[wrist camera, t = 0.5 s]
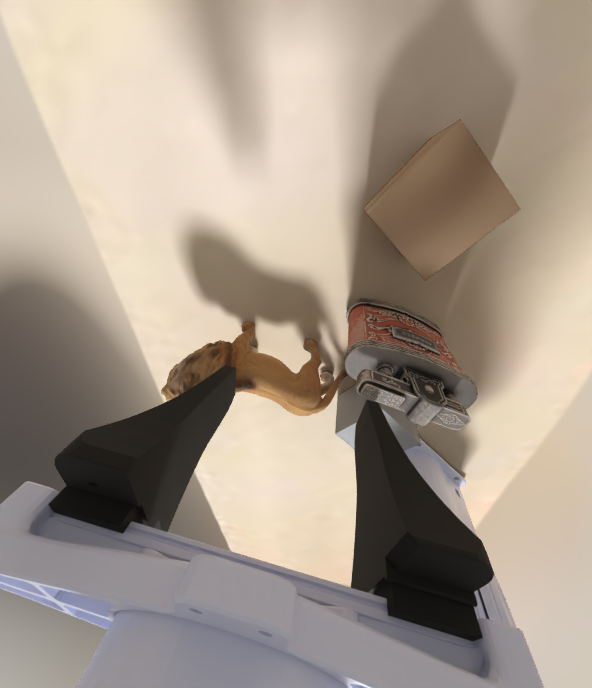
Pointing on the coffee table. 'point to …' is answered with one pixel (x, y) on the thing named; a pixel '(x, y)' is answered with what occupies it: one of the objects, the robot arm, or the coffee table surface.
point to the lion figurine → (258, 374)
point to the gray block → (352, 408)
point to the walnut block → (441, 201)
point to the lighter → (406, 365)
